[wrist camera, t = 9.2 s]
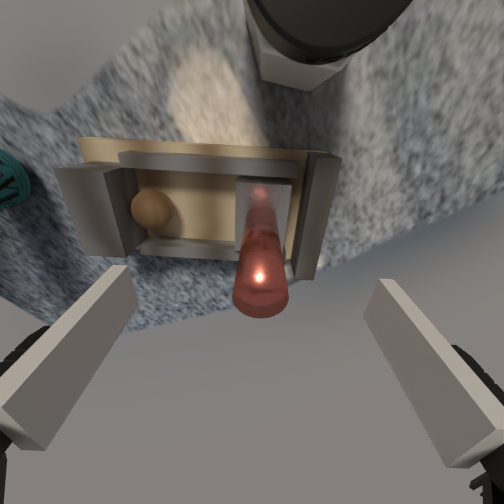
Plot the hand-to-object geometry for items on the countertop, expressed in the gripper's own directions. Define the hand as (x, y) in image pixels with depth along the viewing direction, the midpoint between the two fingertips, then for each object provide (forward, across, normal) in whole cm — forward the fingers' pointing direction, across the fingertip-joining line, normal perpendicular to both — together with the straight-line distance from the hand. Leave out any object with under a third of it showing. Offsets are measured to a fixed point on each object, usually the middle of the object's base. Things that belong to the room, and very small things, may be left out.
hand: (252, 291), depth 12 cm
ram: (+14, +1, 0) cm, 14 cm away
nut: (+14, -10, 0) cm, 17 cm away
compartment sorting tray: (+16, -5, 0) cm, 17 cm away
